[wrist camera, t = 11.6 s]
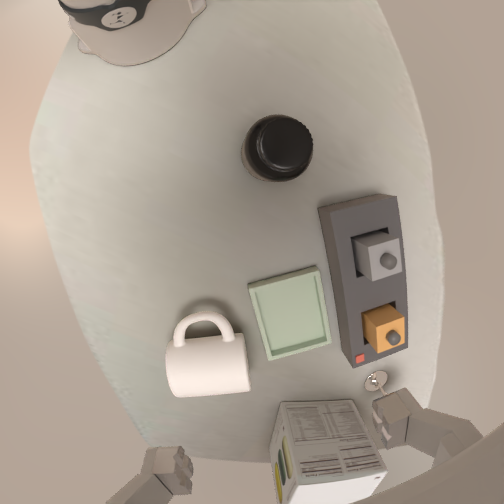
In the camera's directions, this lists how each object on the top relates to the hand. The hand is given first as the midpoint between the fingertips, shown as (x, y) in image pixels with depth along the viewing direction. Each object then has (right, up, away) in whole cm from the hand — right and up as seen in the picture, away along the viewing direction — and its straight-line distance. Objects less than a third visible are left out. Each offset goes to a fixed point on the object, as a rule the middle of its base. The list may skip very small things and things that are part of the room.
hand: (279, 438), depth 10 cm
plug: (+16, -1, +30) cm, 34 cm away
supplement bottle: (+1, +20, +26) cm, 32 cm away
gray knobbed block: (+13, +8, +27) cm, 31 cm away
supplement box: (+9, -24, +36) cm, 44 cm away
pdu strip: (+14, +4, +30) cm, 33 cm away
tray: (+4, -1, +30) cm, 31 cm away
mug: (-7, -5, +31) cm, 32 cm away
